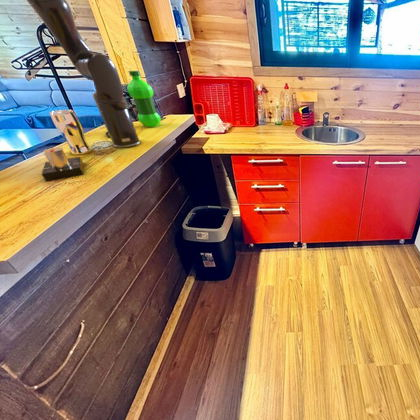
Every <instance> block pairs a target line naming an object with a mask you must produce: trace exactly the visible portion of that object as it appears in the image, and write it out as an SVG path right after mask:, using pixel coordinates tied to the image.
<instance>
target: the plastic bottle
mask: <svg viewBox="0 0 420 420" xmlns="http://www.w3.org/2000/svg"><path fill="white" fill-rule="evenodd" d="M128 74H129V76H130V77H131V81H130V82H129V83H128V84H127V86H126V87H127V88H126V91H127V93H128V94H129V96H130V97H131V98H132V99H133V101H134V104H135V107H136V109H137V112H138V113H137V119H138V121H139V122H140V124H142V125H143V126H145V127H146V128H154V127H158V126H159V124H160V123H161V122H162V121H161V120H162V118H161V116H160V115H159V113H158V112H157V109H156V106H155V103H154V102H155V101H154V99H153V97H154V90H153V87H152V86H151V85H150V84H148V83H147V82H146V81H144V80H142V79H141V76H142V75H141V72H140V70H128Z"/></svg>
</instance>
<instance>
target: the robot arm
mask: <svg viewBox="0 0 420 420" xmlns="http://www.w3.org/2000/svg"><path fill="white" fill-rule="evenodd" d="M26 2H27V3H28V5H30V7H31V8H32V9H33V10H34V12H35V13H36V14H37V16H38V17H39V18H40V20H41V21H42V22H43V24H44V25H45V26H46V28H48V30H49V32H50V33H51V34H52V35H53V36H54V38H55V39H56V40H57V42H58V43H59V45H60V47H61V49H63V51H64V52H65V54H66V56H67V57H68V59H69V60H70V62H71V63H72V65H73V67H75V68H74V69H76V71H77V72H78V73H79V74H80V75H81V76H82V77H84V78H85V79H87V80H89V81H92V82H93V85H94V88H95V91H94V92H93V93H92V98H93V100H94V102H95V105H96V107H97V110H98V112H99V114H100V116H101V119H102V121H101V122H100V125H104V126H105V128H106V130H107V131H106V132H105V134H104V135H105V136H106V137H108V138H110V140H111V142H112V145H113V147H114V148H121V149H122V148H130V147H135V146H137V145H140V143H141V140H140V139H139V137H138V133H137V130H136V127H135V125H134V122H133V119H132V116H131V113H130V111H129V108H128V106H127V103H126V100H125V98H124V88H123V85H122V81H121V78H120V75H119V71H118V69H117V67H116V65H115V64H114V61H112V59H111V58H109V57H108V56H107V55H105V54H102V53H98V52H93V51H92V50H91V49H90V48H89V46H88V45H87V44H86V42H85V41H84V39H83V38H82V36H81V34H80V33H79V30H78V28H77V25H76V22H75V18H74V15H73V13H72V8H71V7H70V4H69V3H68V1H67V0H26Z"/></svg>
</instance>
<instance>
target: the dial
mask: <svg viewBox="0 0 420 420" xmlns="http://www.w3.org/2000/svg"><path fill="white" fill-rule="evenodd" d="M42 152H43V154H44V156H45V158H46V159H47V162H49V163H50V164H51V166H52V168H54V169H61V168H65V167H68V166H70V165H71V164H70V162H69V161H68V159H69V158H68V157H67V155H66V153H65V152H64V150H63V148H62V147H50V148H46V149H44V150H42Z"/></svg>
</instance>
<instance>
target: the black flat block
mask: <svg viewBox="0 0 420 420" xmlns="http://www.w3.org/2000/svg"><path fill="white" fill-rule="evenodd" d="M67 159H68V161H69V162H70V164H71V165H70V166H68V167H65V168H61V169H54V168H52V166H51V164H50V163H49V161H45V162H44V165H43V168H42V171H41V176H42V177H43V179H44V181H46V182H49V181H54V180H55V181H56V180H61V179H66V178H71V177H77V176H83V175H84V162H83V160H82V158H81V156H76V157H70V158H67Z"/></svg>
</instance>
